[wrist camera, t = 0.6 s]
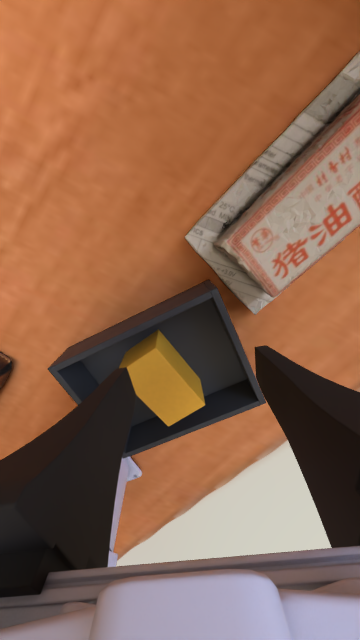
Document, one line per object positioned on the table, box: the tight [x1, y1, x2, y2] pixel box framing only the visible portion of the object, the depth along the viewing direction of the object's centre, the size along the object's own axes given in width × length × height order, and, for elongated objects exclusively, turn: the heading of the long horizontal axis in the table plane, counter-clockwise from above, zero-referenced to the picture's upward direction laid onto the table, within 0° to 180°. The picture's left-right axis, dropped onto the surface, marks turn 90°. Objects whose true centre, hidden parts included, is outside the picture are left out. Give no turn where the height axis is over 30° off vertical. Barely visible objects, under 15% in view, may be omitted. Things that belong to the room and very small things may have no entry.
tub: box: [48, 280, 266, 459], centre depth 21 cm, size 16×13×4 cm
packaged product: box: [185, 51, 360, 315], centre depth 16 cm, size 18×5×10 cm
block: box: [119, 330, 205, 427], centre depth 21 cm, size 4×8×4 cm, turn 36°
